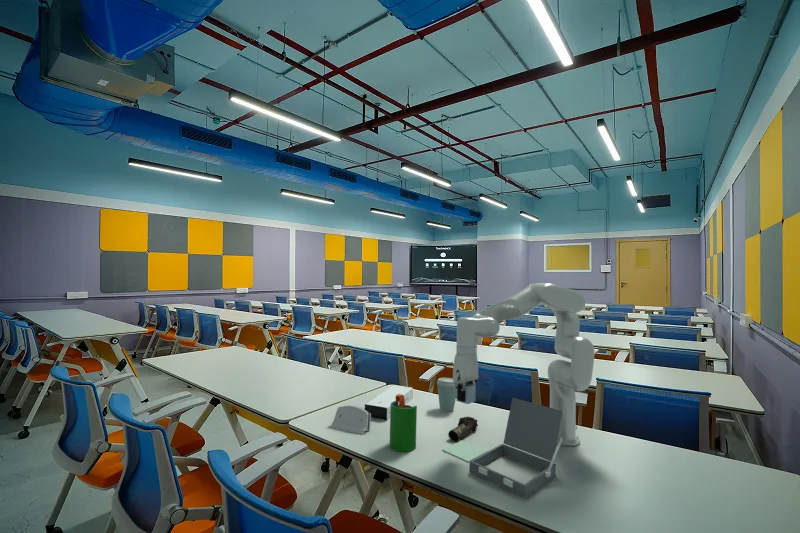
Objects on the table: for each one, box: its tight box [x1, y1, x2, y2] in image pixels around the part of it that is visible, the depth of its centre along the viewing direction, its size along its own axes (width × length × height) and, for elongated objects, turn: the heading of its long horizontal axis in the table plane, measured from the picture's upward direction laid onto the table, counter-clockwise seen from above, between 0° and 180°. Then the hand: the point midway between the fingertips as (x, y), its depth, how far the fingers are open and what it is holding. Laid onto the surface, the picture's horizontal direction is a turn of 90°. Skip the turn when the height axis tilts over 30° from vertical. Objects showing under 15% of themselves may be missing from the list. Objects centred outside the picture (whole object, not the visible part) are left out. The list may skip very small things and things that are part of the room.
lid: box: [503, 397, 563, 464], centre depth 132 cm, size 17×19×1 cm
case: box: [469, 438, 563, 499], centre depth 124 cm, size 24×21×12 cm
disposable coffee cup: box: [436, 377, 457, 413], centre depth 181 cm, size 11×11×15 cm
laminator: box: [364, 384, 414, 421], centre depth 184 cm, size 34×12×6 cm, turn 158°
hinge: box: [330, 405, 372, 436], centre depth 158 cm, size 17×5×10 cm, turn 65°
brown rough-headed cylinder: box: [447, 415, 479, 443], centre depth 154 cm, size 18×7×6 cm, turn 140°
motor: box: [389, 394, 418, 453], centre depth 141 cm, size 10×9×20 cm
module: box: [455, 382, 477, 405], centre depth 139 cm, size 5×5×6 cm
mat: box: [441, 439, 488, 464], centre depth 138 cm, size 12×12×1 cm
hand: (466, 398), depth 139 cm, fingers closed on module, 5 cm apart
